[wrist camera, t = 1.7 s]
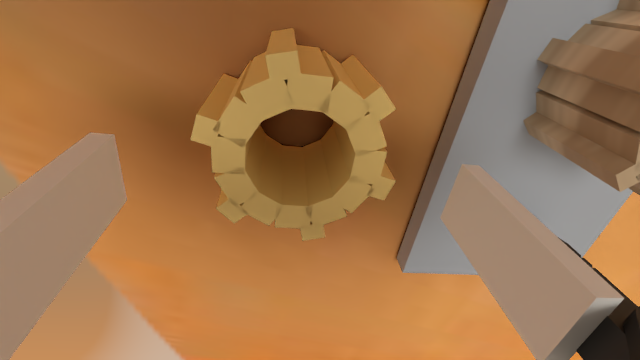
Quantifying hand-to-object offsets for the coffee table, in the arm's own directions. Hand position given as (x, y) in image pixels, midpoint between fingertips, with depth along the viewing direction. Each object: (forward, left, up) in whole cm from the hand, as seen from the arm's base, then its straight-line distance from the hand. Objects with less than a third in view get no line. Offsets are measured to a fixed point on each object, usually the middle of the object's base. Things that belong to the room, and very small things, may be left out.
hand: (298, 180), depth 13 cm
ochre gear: (0, 0, -7) cm, 7 cm away
